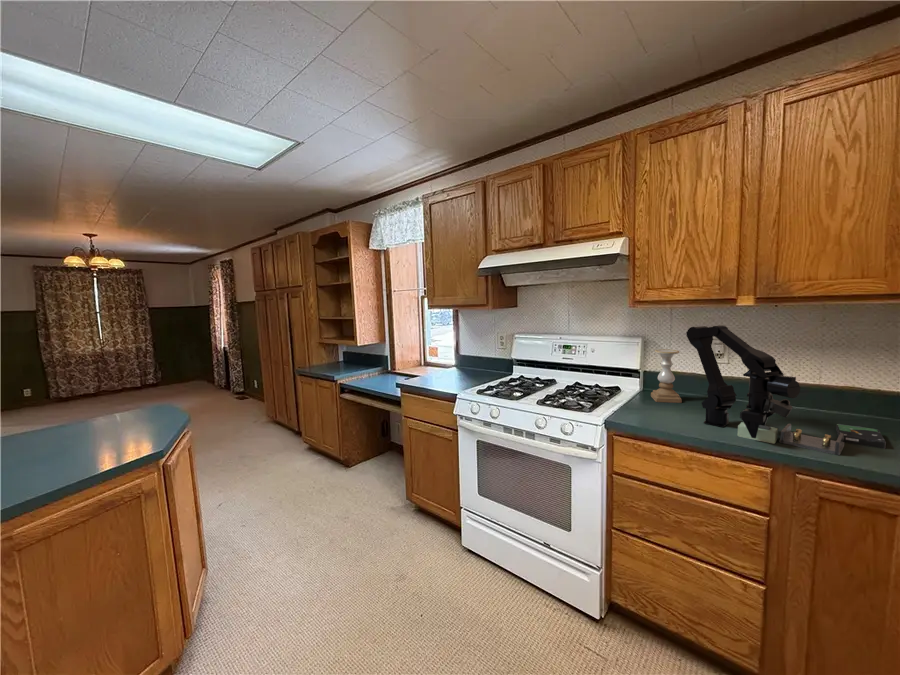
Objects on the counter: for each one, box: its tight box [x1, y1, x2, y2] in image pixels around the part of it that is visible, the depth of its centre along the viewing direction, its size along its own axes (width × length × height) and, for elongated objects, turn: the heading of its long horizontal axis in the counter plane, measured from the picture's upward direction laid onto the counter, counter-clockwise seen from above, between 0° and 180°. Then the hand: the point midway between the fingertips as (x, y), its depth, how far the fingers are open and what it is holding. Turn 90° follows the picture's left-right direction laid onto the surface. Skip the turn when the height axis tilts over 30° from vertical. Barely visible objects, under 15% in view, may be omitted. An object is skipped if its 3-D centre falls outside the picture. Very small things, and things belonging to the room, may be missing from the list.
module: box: [737, 421, 779, 445], centre depth 129 cm, size 10×6×5 cm, turn 41°
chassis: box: [778, 423, 845, 456], centre depth 122 cm, size 14×11×4 cm
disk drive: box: [835, 423, 887, 450], centre depth 125 cm, size 10×3×15 cm
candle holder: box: [650, 348, 683, 404], centre depth 177 cm, size 11×11×24 cm
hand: (757, 434), depth 129 cm, fingers open, 9 cm apart
